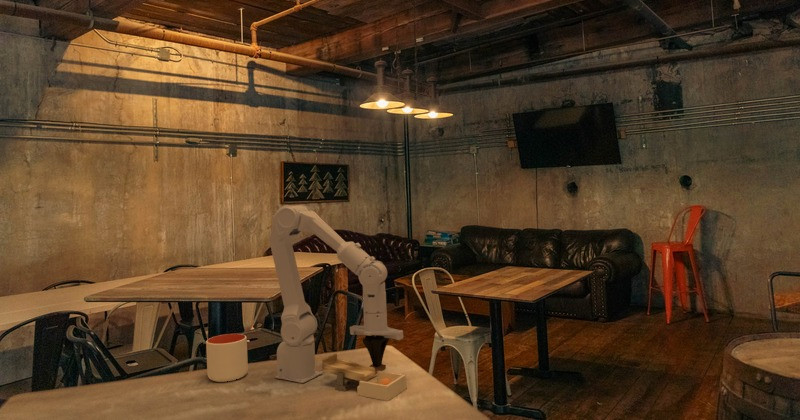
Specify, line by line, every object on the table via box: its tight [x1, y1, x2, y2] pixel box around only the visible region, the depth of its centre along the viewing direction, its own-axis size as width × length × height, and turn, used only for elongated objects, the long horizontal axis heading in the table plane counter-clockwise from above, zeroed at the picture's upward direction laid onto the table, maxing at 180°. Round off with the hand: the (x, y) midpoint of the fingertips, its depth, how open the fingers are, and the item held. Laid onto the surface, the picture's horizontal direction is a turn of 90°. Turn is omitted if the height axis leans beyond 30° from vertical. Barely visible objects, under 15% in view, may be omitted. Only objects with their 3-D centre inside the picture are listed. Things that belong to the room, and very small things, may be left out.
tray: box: [356, 370, 407, 402], centre depth 118 cm, size 8×8×3 cm
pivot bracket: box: [334, 372, 359, 392], centre depth 123 cm, size 3×7×4 cm, turn 150°
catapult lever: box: [321, 352, 387, 382], centre depth 125 cm, size 12×10×3 cm
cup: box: [205, 333, 249, 383], centre depth 132 cm, size 10×10×10 cm
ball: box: [380, 378, 391, 385], centre depth 117 cm, size 3×3×3 cm
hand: (377, 365), depth 126 cm, fingers closed, pressing on catapult lever
